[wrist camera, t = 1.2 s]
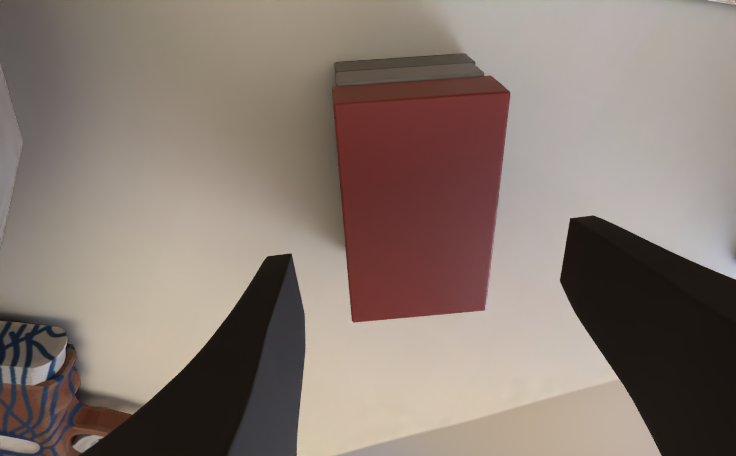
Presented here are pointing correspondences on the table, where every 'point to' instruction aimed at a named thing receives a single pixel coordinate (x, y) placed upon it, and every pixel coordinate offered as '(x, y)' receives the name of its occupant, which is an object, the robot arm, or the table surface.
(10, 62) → the table surface
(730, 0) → the smartphone
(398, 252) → the oxblood book
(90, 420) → the handgun
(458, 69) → the grey stack
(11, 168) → the flower arrangement
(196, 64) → the table surface
